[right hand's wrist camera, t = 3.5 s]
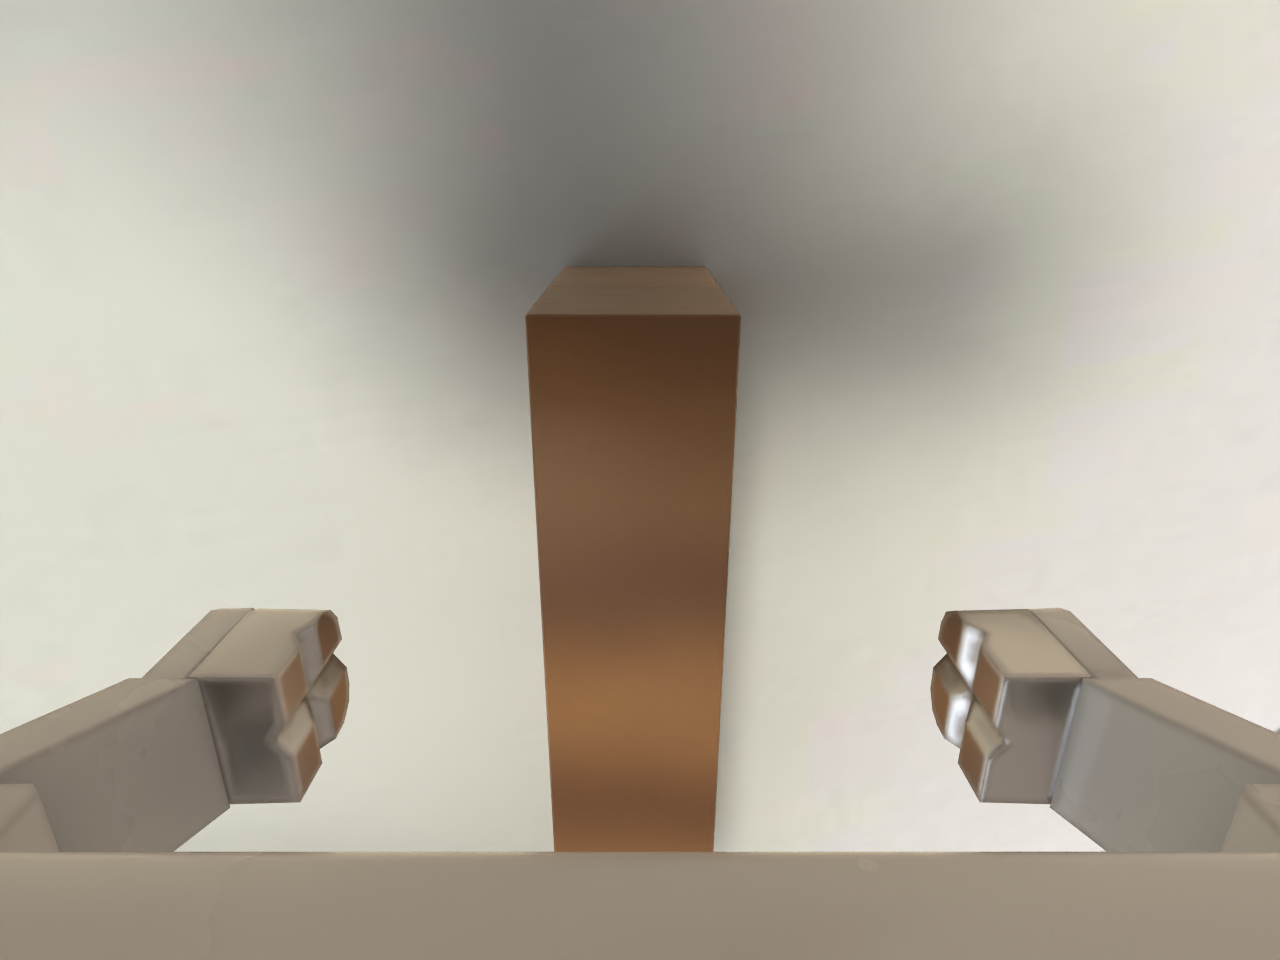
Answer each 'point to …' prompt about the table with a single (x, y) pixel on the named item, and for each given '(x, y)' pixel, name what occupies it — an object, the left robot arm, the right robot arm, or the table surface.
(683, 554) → the bar
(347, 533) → the table surface
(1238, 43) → the table surface
